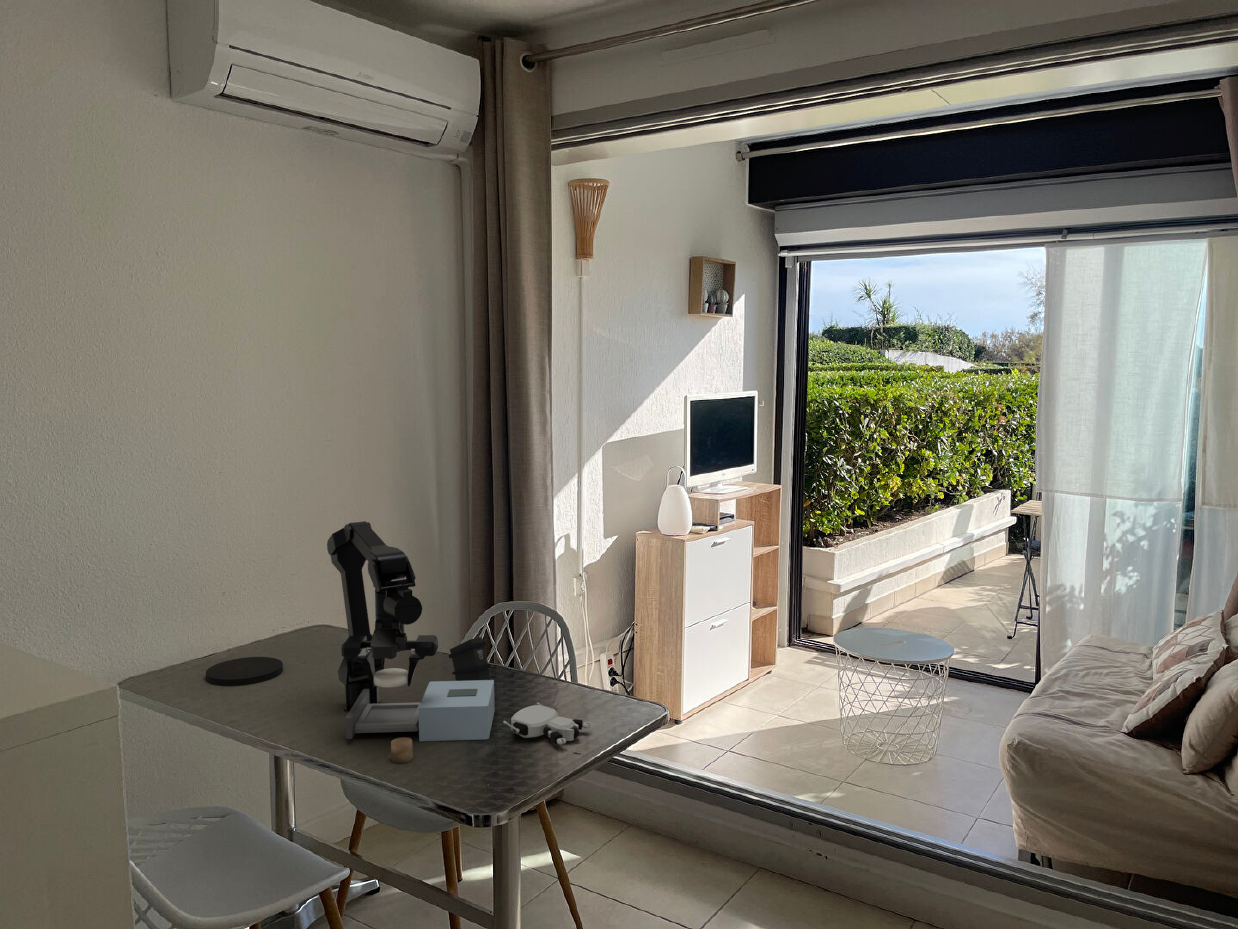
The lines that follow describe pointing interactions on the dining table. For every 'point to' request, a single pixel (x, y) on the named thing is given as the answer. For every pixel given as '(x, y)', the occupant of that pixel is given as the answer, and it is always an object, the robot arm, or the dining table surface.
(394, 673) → the cream disc
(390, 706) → the tray
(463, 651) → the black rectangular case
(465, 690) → the box
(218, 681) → the wireless charger
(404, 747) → the tan short cylinder
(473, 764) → the dining table surface
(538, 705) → the robot toy
